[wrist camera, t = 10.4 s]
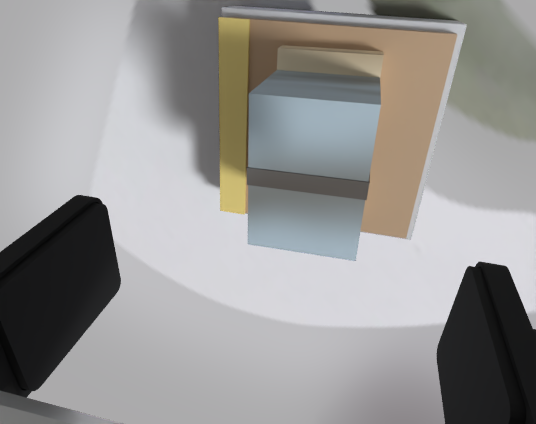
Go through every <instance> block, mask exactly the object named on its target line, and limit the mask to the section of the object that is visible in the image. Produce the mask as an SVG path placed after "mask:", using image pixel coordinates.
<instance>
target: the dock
mask: <svg viewBox="0 0 536 424" xmlns="http://www.w3.org/2000/svg"><path fill="white" fill-rule="evenodd" d="M218 24H219V128H220V211H226V212H232V213H238V214H248V185H247V167H248V146H249V93H250V92H251V91H252V90H254V89H255V88H256V87H257V86H258V85H260V84H261V83H262V82H263V81H264V80H265V79H267V78H268V77H269V76H270V75H271V74H273V73H274V72H275V71H276V70H277V54H278V48H279V47H281V46H282V45H287V46H302V47H318V48H334V49H350V50H365V51H381V52H384V57H383V63H382V70H381V76H380V87H381V108H380V114H379V120H378V126H377V132H376V138H375V144H374V151H373V157H372V163H371V169H370V183H369V189H368V195H367V200H365V206H364V212H363V218H362V224H361V230H360V232H364V233H370V234H377V235H383V236H389V237H396V238H402V239H408V240H411V237H412V233H413V230H414V226H415V222H416V218H417V214H418V210H419V207H420V203H421V199H422V195H423V191H424V187H425V184H426V179H427V176H428V172H429V168H430V164H431V160H432V157H433V153H434V149H435V145H436V141H437V137H438V134H439V130H440V126H441V122H442V118H443V114H444V110H445V107H446V103H447V99H448V95H449V91H450V87H451V84H452V80H453V76H454V72H455V68H456V64H457V61H458V57H459V53H460V49H461V45H462V41H463V37H464V34H465V30H466V26H467V24H464V23H462V22H460V21H454V20H439V19H425V18H410V17H395V16H381V15H365V14H351V13H336V12H322V11H307V10H293V9H278V8H263V7H249V6H229V7H222V17H218Z"/></svg>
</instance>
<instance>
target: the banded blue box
mask: <svg viewBox="0 0 536 424" xmlns="http://www.w3.org/2000/svg"><path fill="white" fill-rule="evenodd" d="M383 57H384V52H381V51H365V50H350V49H334V48H318V47H302V46H287V45H282V46H281V47H279V48H278V54H277V70H276V71H275V72H274V73H273V74H271V75H270V76H269V77H268V78H267V79H265V80H264V81H263V82H262V83H261V84H260V85H258V86H257V87H256V88H255V89H254V90H252V91H251V92H250V93H249V146H248V167H247V185H248V244H249V245H256V246H262V247H269V248H275V249H282V250H288V251H294V252H301V253H307V254H314V255H320V256H326V257H333V258H339V259H346V260H352V261H356V255H357V248H358V242H359V236H360V230H361V224H362V218H363V212H364V206H365V200H367V195H368V189H369V183H370V169H371V163H372V157H373V151H374V144H375V138H376V132H377V126H378V120H379V114H380V108H381V87H380V76H381V70H382V63H383Z"/></svg>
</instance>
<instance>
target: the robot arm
mask: <svg viewBox="0 0 536 424" xmlns="http://www.w3.org/2000/svg"><path fill="white" fill-rule="evenodd" d="M120 284H121V278H120V273H119V268H118V263H117V257H116V252H115V247H114V241H113V236H112V231H111V226H110V220H109V215H108V210H107V207H106V206H105V205H104V204H102V201H101V200H100V199H98V198H95V197H89V196H83V195H77V196H75V197H73V198H72V199H70V200H69V201H68V202H66V203H65V204H64V205H62V206H61V207H60V208H58V209H57V210H56V211H54V212H53V213H52V214H51V215H49V216H48V217H46V218H45V219H44V220H42V221H41V222H40V223H38V224H37V225H36V226H34V227H33V228H32V229H30V230H29V231H28V232H26V233H25V234H24V235H22V236H21V237H20V238H19V239H17V240H16V241H14V242H13V243H12V244H10V245H9V246H8V247H6V248H5V249H4V250H2V251H1V252H0V424H123V423H119V422H115V421H111V420H108V419H104V418H101V417H96V416H93V415H89V414H86V413H82V412H78V411H74V410H70V409H67V408H63V407H59V406H56V405H52V404H48V403H44V402H40V401H37V400H33V399H29V398H27V396H28V395H29V394H30V393H31V391H35V390H37V389H39V388H40V387H41V385H42V384H43V383H44V382H45V381H46V379H47V378H48V377H49V376H50V374H51V373H52V372H53V371H54V370H55V368H56V367H57V366H58V365H59V363H60V362H61V361H62V360H63V358H64V357H65V356H66V355H67V353H68V352H69V351H70V350H71V349H72V347H73V346H74V345H75V344H76V342H77V341H78V340H79V339H80V338H81V336H82V335H83V334H84V333H85V331H86V330H87V329H88V328H89V327H90V325H91V324H92V323H93V322H94V320H95V319H96V318H97V317H98V315H99V314H100V313H101V312H102V311H103V309H104V308H105V307H106V306H107V304H108V303H109V302H110V300H111V299H112V298H113V297H114V296H115V294H116V293H117V292H118V290H119V288H120ZM437 365H438V372H439V380H440V386H441V395H442V402H443V410H444V418H445V424H536V330H535V329H533V328H532V326H531V324H530V321H529V319H528V316H527V314H526V311H525V309H524V306H523V304H522V301H521V299H520V296H519V294H518V291H517V289H516V287H515V284H514V282H513V279H512V277H511V274H510V272H509V269H508V268H507V267H506V266H503V265H497V264H491V263H485V262H478V263H477V264H476V266H475V267H471V266H469V267H468V268H467V269H466V271H465V274H464V277H463V279H462V282H461V285H460V287H459V290H458V293H457V295H456V298H455V301H454V303H453V306H452V309H451V312H450V314H449V317H448V320H447V322H446V325H445V328H444V330H443V333H442V336H441V338H440V341H439V344H438V348H437Z"/></svg>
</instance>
